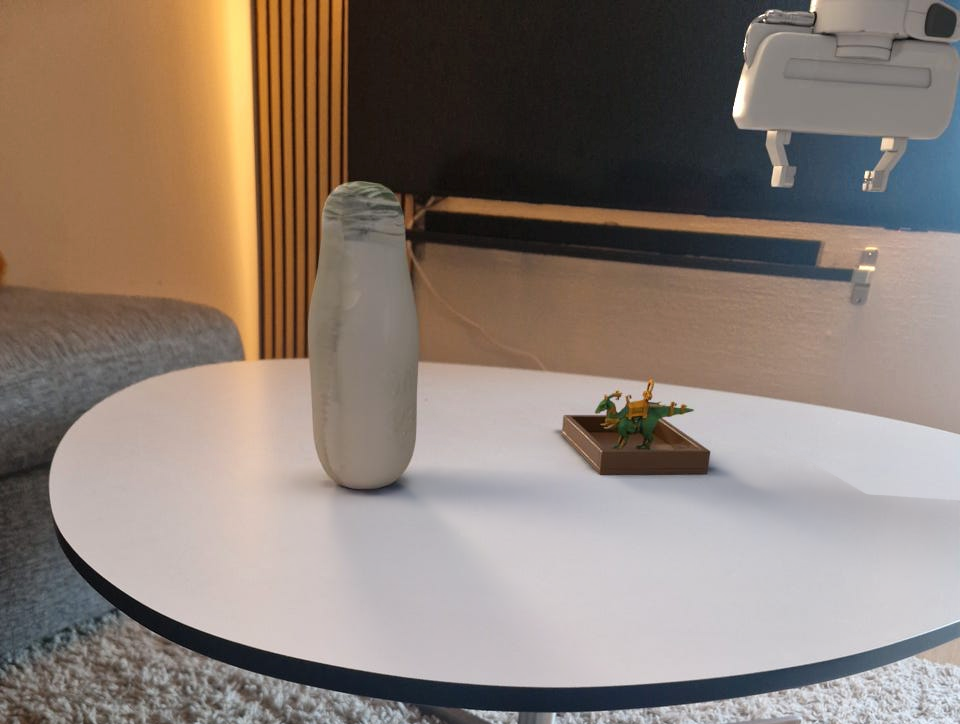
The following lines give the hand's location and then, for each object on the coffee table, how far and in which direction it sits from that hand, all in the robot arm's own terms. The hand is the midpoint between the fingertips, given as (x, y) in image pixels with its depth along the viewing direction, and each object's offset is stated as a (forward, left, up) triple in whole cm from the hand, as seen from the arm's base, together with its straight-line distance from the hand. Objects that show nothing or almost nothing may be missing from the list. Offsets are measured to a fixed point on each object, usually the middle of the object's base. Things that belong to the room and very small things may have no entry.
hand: (827, 189), depth 88 cm
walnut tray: (+15, -10, -29) cm, 34 cm away
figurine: (+14, -10, -29) cm, 33 cm away
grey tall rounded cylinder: (+43, +10, -29) cm, 53 cm away
